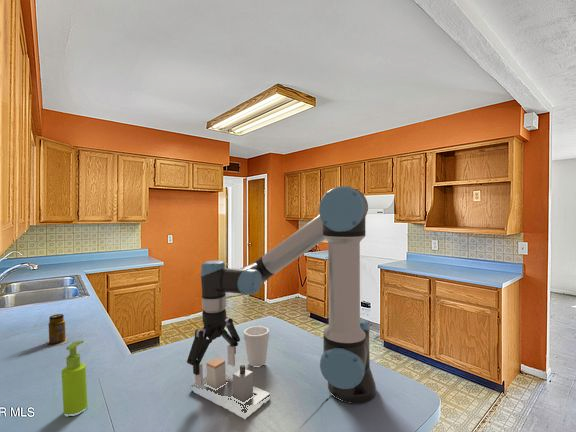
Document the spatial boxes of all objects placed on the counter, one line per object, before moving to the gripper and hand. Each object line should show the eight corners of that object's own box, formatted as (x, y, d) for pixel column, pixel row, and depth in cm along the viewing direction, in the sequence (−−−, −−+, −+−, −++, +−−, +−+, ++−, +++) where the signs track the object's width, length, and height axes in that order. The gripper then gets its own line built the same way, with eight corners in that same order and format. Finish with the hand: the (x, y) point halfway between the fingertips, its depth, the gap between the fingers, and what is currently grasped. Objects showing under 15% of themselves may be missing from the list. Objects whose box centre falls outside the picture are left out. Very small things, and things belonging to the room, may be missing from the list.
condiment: (66, 337, 148) (65, 312, 148) (67, 342, 142) (66, 316, 141) (46, 341, 143) (45, 315, 143) (47, 347, 137) (46, 320, 136)
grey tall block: (253, 400, 96) (252, 365, 95) (243, 408, 92) (242, 371, 92) (243, 396, 98) (242, 361, 98) (233, 403, 95) (232, 367, 94)
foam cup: (246, 373, 113) (245, 337, 112) (243, 360, 121) (242, 327, 121) (272, 368, 115) (271, 334, 115) (267, 357, 124) (266, 324, 124)
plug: (217, 383, 105) (216, 357, 105) (225, 388, 103) (225, 361, 102) (207, 390, 102) (206, 362, 101) (215, 394, 99) (215, 366, 99)
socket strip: (270, 401, 96) (270, 393, 96) (245, 421, 87) (245, 413, 87) (217, 377, 110) (216, 370, 110) (191, 393, 101) (190, 385, 101)
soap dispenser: (93, 401, 98) (90, 338, 97) (79, 416, 91) (76, 349, 90) (74, 402, 97) (71, 339, 97) (58, 417, 91) (55, 349, 90)
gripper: (233, 297, 113) (235, 355, 114) (173, 318, 93) (175, 388, 94) (249, 300, 109) (250, 360, 110) (189, 323, 89) (191, 397, 90)
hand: (216, 373), depth 102 cm, fingers open, 13 cm apart
